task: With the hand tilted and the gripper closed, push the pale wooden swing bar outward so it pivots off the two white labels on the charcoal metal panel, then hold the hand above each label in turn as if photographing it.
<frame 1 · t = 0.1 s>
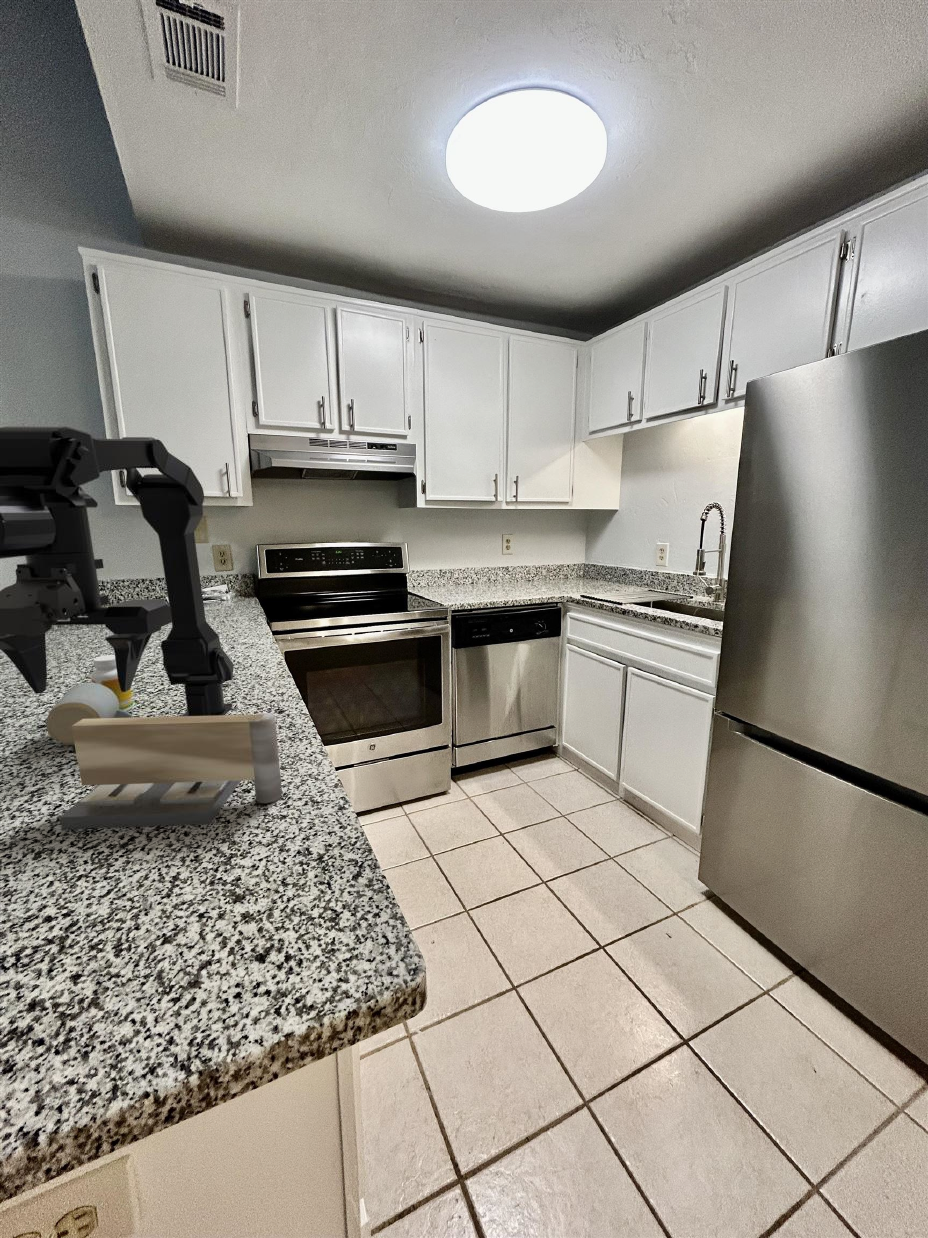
hand: (83, 691, 57), 15 cm above the counter, tool pointing down, fingers open, 9 cm apart
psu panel: (164, 796, 63), on the counter
supplement bottle: (115, 711, 90), on the counter
ceramic mug: (97, 736, 80), on the counter
swing bar: (182, 760, 61), point 5 cm above the counter, hinge at 0.0°
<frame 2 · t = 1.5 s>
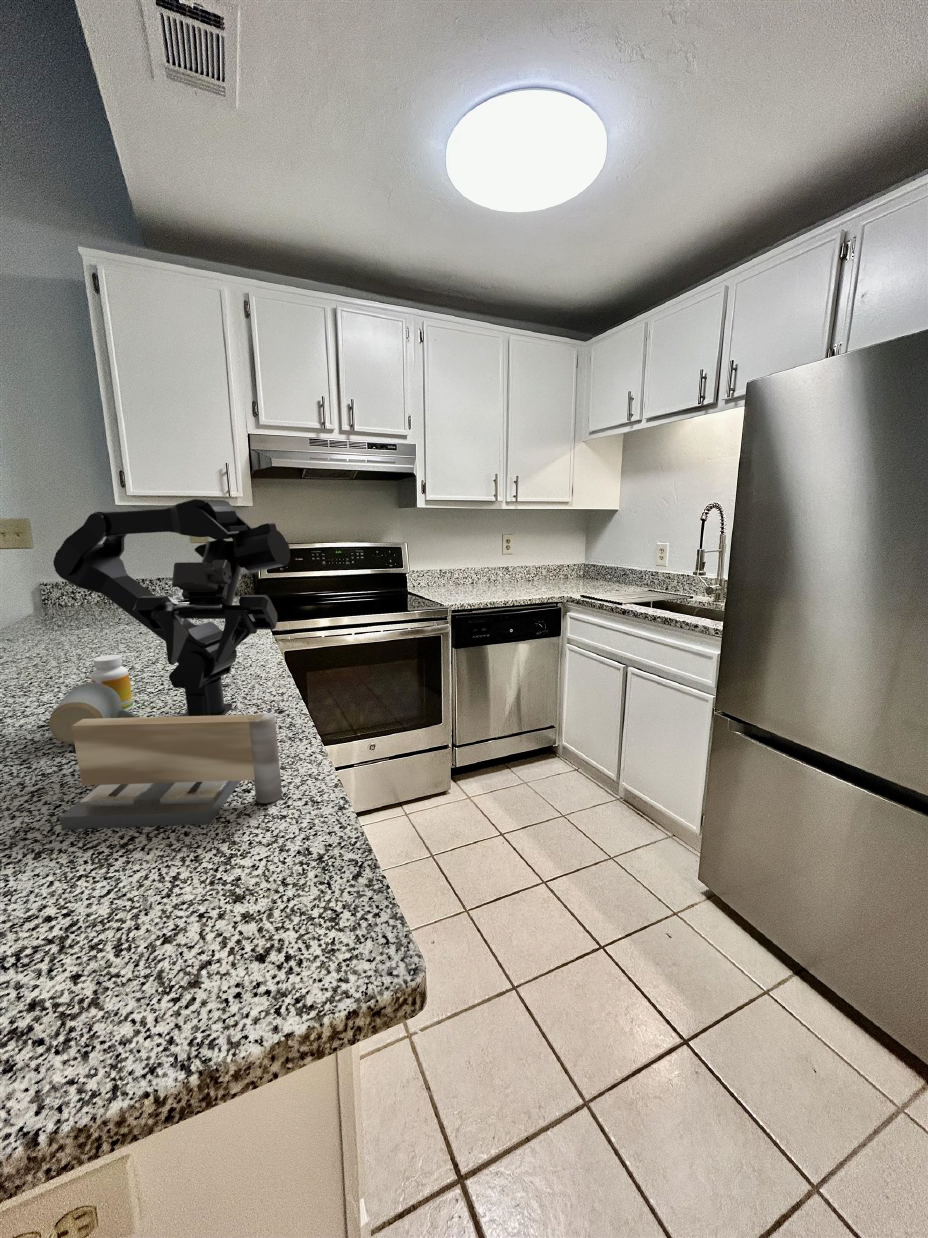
hand: (194, 663, 71), 14 cm above the counter, tool tilted 45°, fingers open, 6 cm apart
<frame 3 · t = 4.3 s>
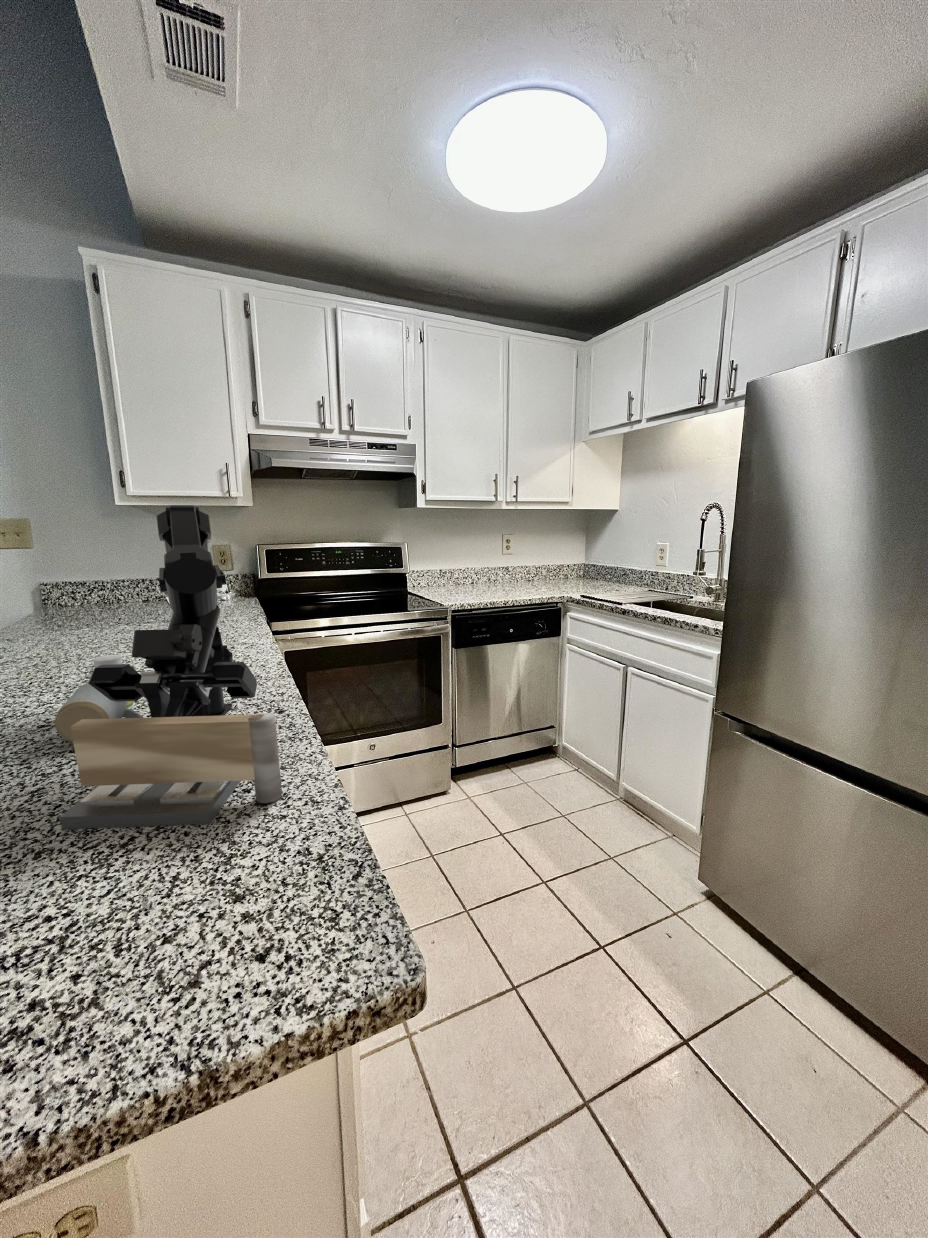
hand: (158, 745, 61), 7 cm above the counter, tool tilted 45°, fingers closed, pressing on swing bar
swing bar: (181, 760, 61), point 5 cm above the counter, hinge at 0.5°, touching gripper
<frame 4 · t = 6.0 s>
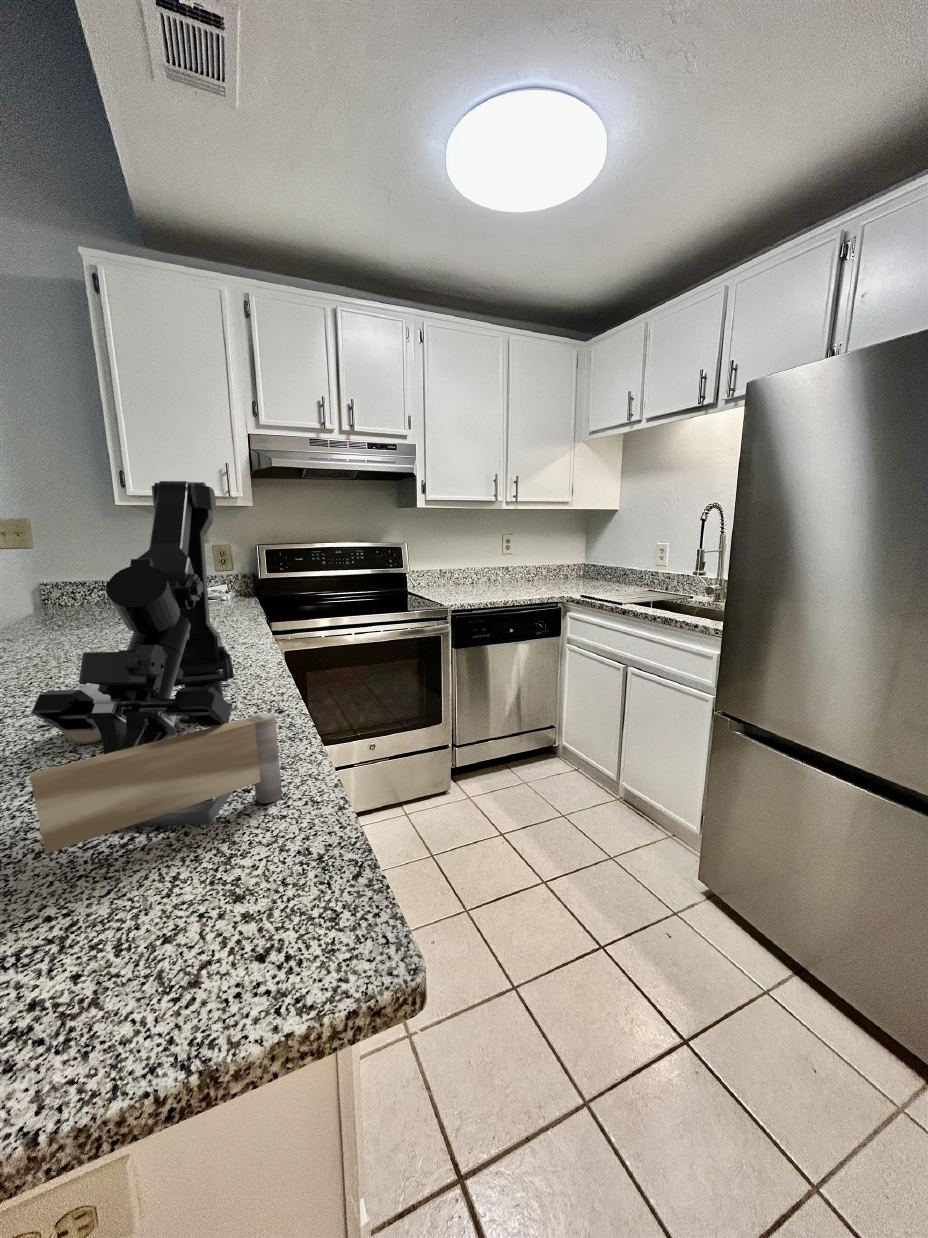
hand: (112, 786, 53), 7 cm above the counter, tool tilted 45°, fingers closed
swing bar: (174, 785, 55), point 5 cm above the counter, hinge at 36.9°, touching gripper
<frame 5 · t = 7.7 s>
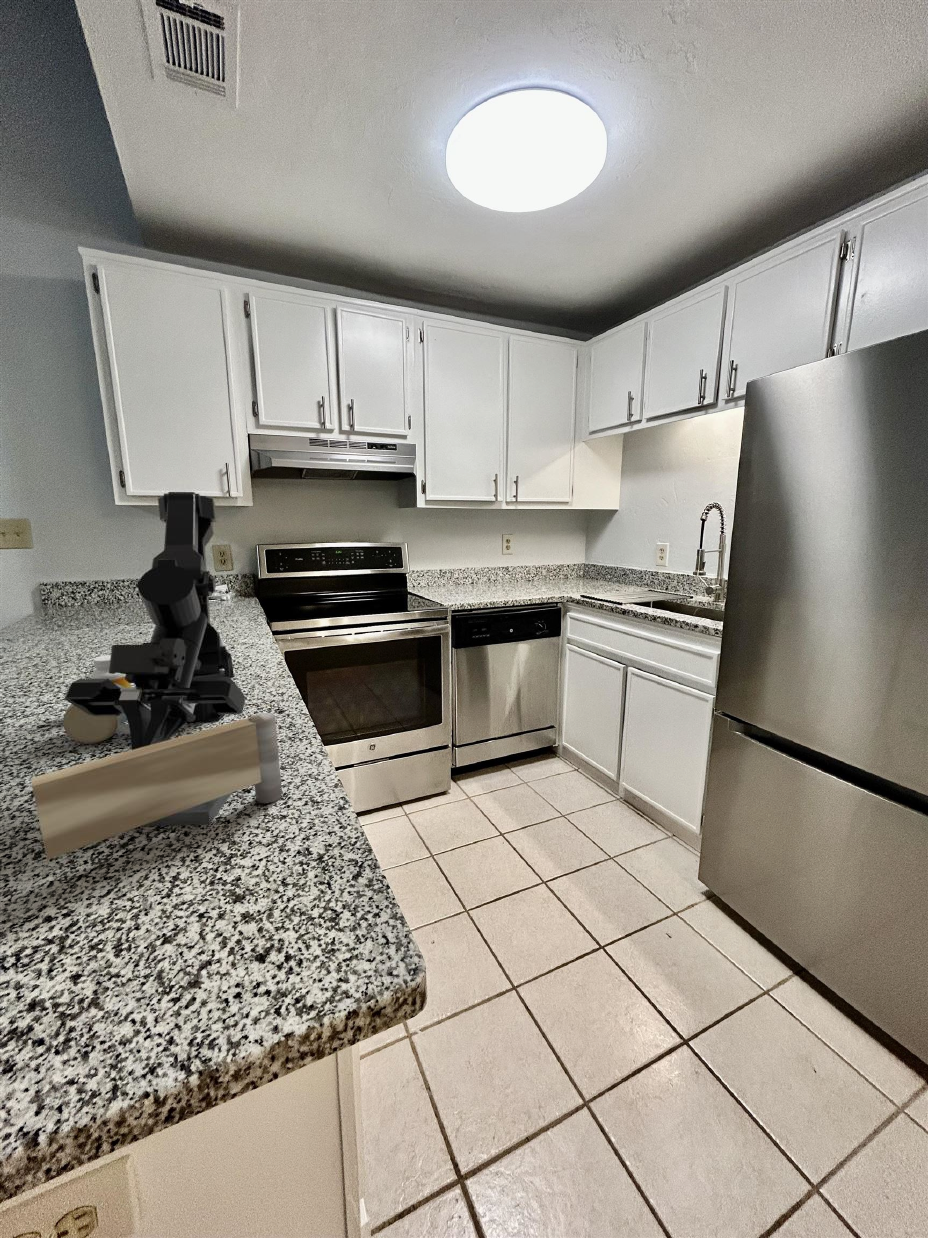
hand: (138, 767, 58), 6 cm above the counter, tool tilted 45°, fingers closed
swing bar: (175, 787, 55), point 5 cm above the counter, hinge at 40.0°
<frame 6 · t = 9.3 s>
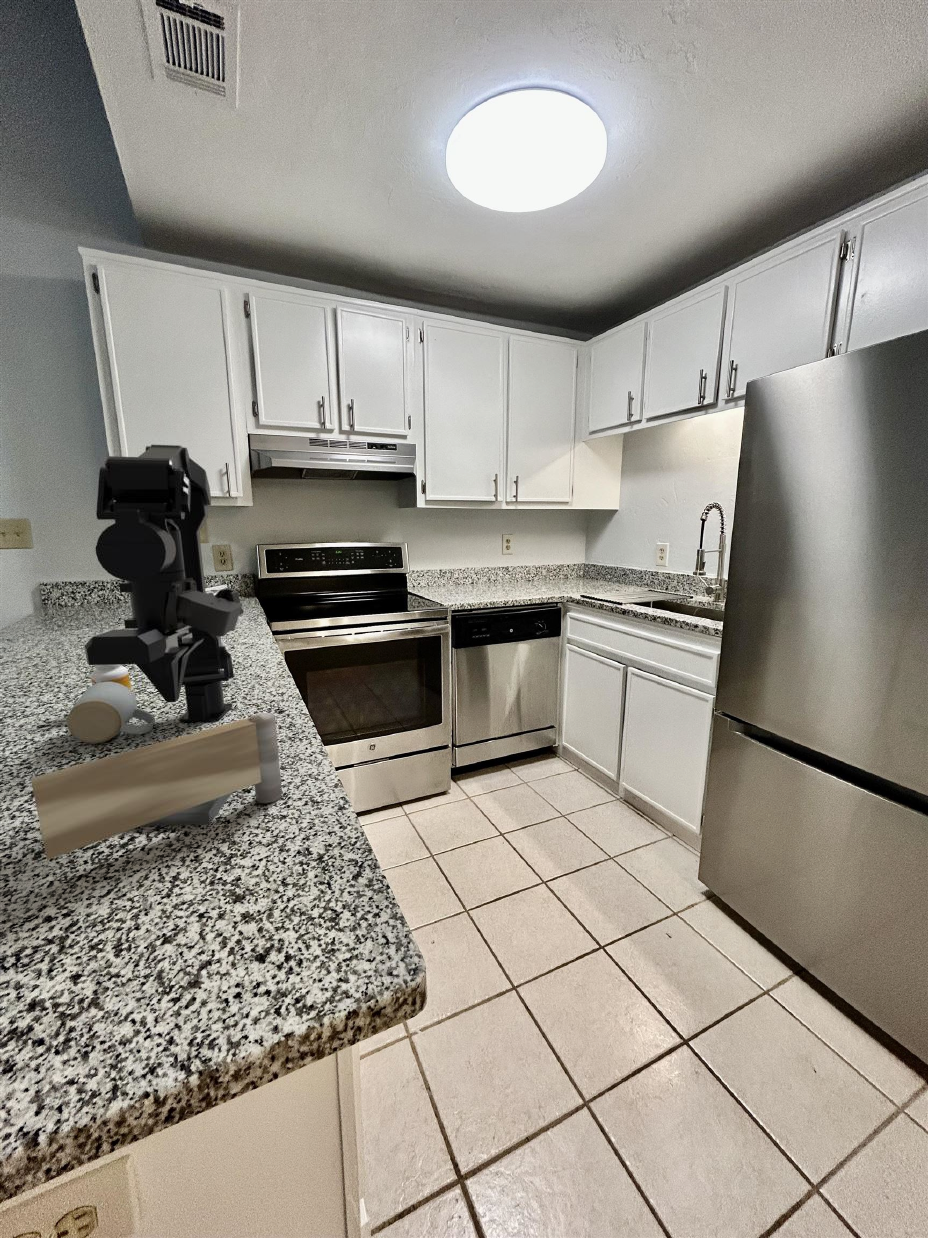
hand: (172, 701, 61), 12 cm above the counter, tool pointing down, fingers closed
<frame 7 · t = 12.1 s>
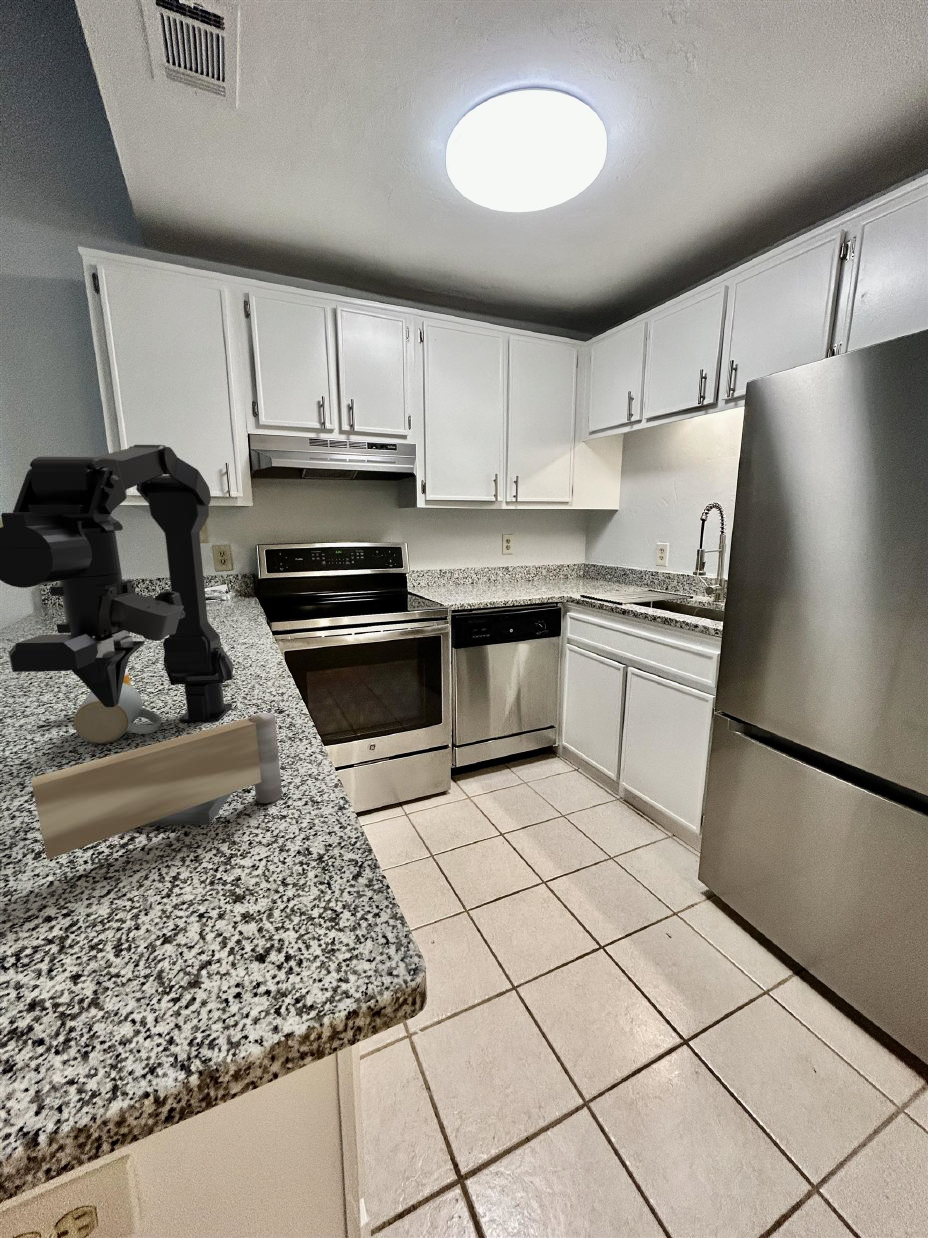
hand: (111, 706, 60), 12 cm above the counter, tool pointing down, fingers closed
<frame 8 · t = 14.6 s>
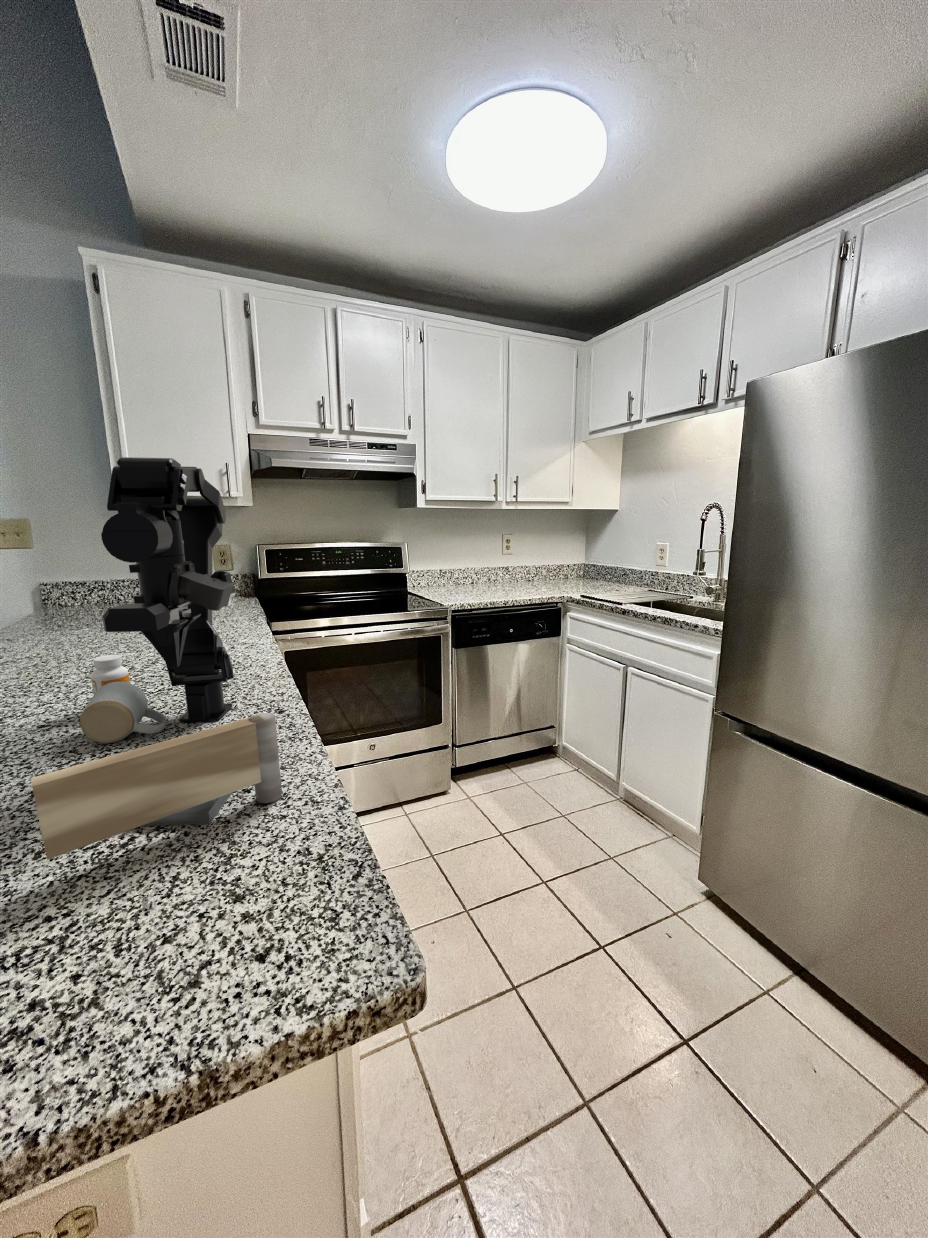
hand: (174, 666, 71), 13 cm above the counter, tool pointing down, fingers closed
at the end: swing bar at +40° (first picture: +0°); the gripper is holding nothing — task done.
